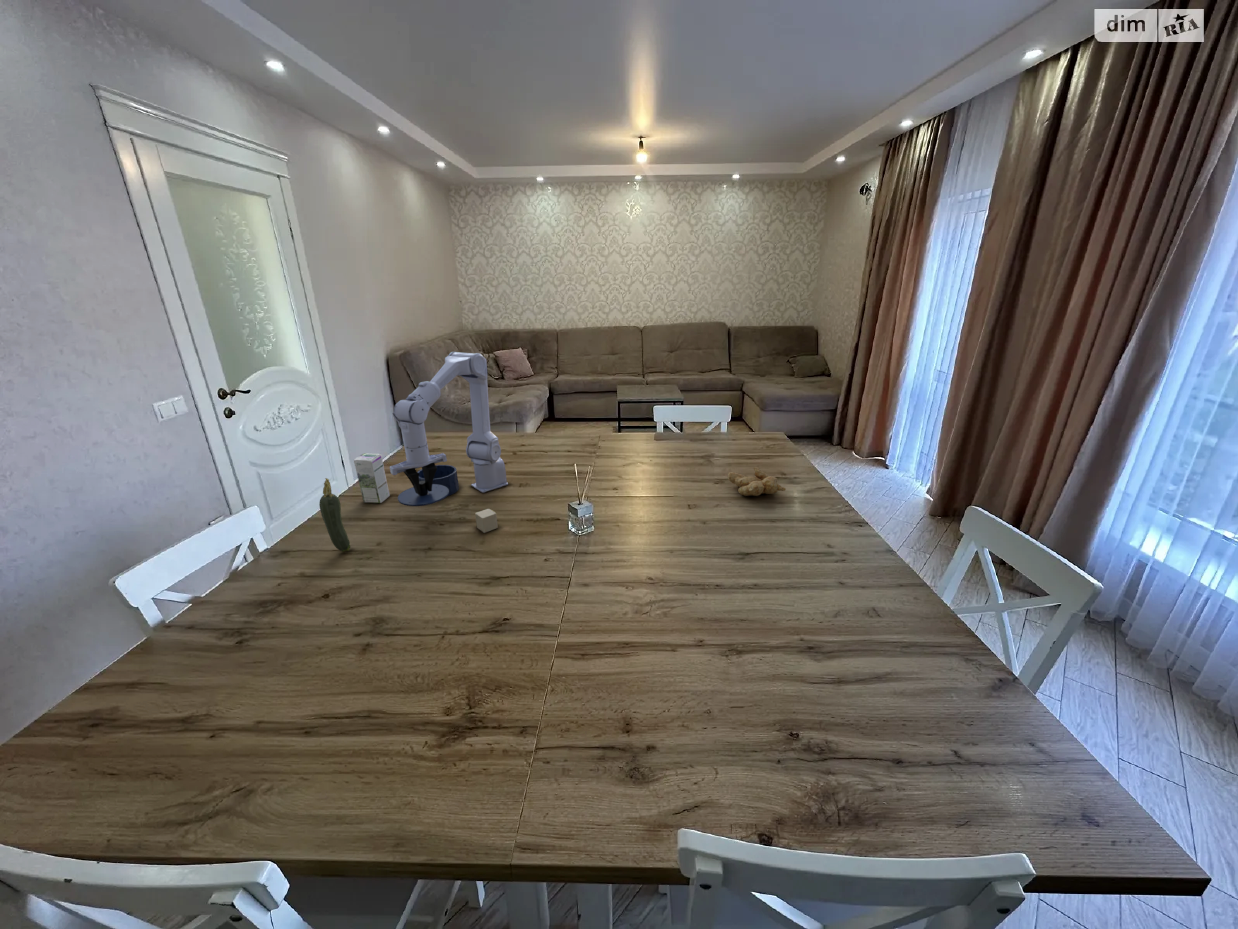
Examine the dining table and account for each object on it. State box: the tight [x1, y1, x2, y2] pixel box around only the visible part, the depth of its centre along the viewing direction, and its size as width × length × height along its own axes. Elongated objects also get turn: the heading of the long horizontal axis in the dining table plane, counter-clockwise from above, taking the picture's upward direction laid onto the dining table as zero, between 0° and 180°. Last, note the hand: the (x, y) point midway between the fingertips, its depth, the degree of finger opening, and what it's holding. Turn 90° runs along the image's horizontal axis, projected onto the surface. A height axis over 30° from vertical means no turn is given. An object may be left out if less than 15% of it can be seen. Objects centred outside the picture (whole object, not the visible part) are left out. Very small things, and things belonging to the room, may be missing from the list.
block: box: [474, 508, 499, 534], centre depth 132 cm, size 4×4×4 cm
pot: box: [416, 464, 460, 497], centre depth 155 cm, size 12×12×6 cm
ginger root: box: [726, 466, 787, 497], centre depth 152 cm, size 16×16×8 cm
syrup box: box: [353, 453, 391, 504], centre depth 148 cm, size 6×6×14 cm
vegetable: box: [319, 477, 351, 553], centre depth 118 cm, size 4×4×20 cm
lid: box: [397, 481, 449, 507], centre depth 133 cm, size 13×13×5 cm
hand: (423, 491), depth 132 cm, fingers closed on lid, 2 cm apart
